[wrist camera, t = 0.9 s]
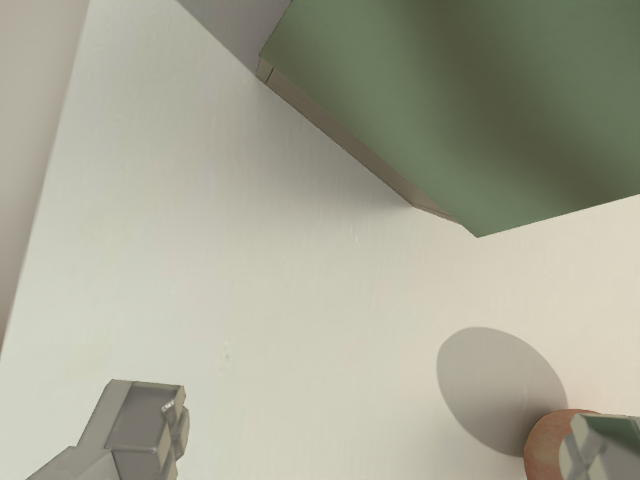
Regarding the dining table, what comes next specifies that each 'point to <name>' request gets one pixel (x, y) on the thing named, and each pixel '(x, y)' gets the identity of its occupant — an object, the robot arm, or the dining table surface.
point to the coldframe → (347, 140)
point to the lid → (479, 97)
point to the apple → (548, 444)
